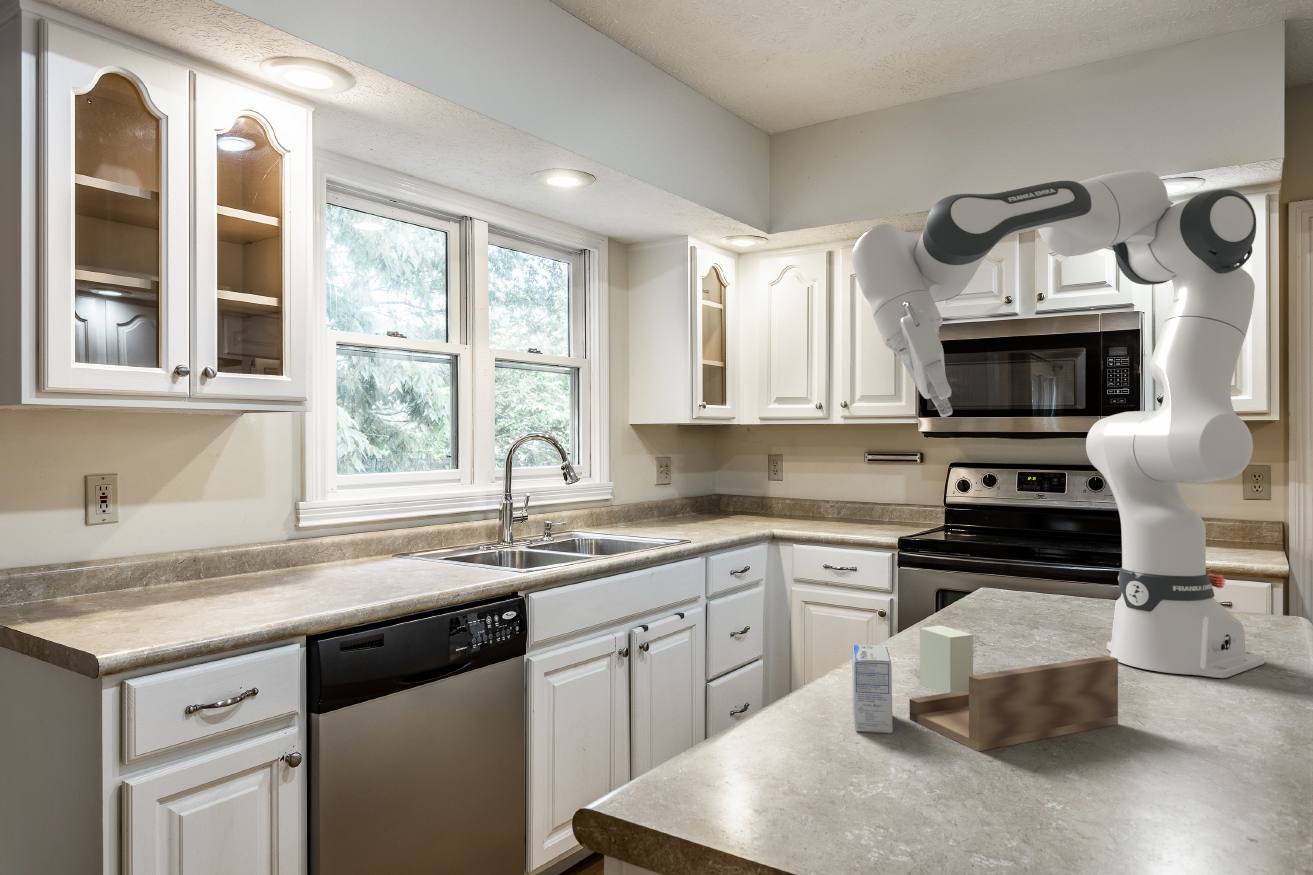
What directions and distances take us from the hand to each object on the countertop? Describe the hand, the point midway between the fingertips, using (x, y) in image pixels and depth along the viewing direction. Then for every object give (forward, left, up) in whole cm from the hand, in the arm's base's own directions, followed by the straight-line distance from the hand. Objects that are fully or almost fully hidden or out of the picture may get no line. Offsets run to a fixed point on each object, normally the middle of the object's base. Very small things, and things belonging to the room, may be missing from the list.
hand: (946, 406), depth 119 cm
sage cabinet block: (+3, +3, -39) cm, 40 cm away
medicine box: (+21, +10, -40) cm, 46 cm away
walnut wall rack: (+5, +16, -39) cm, 43 cm away
